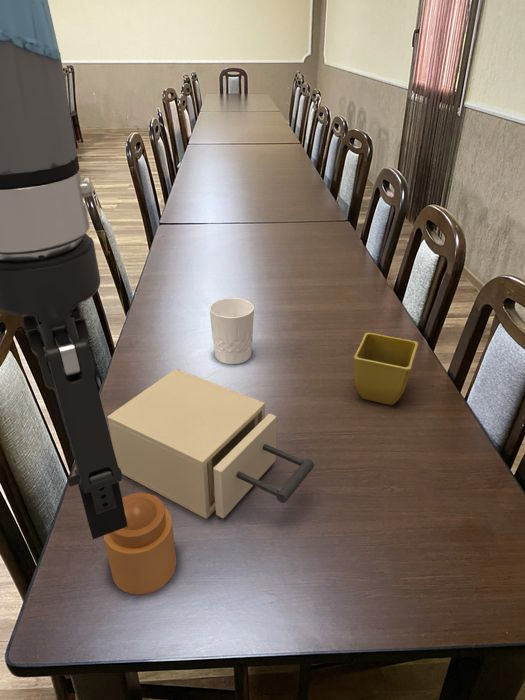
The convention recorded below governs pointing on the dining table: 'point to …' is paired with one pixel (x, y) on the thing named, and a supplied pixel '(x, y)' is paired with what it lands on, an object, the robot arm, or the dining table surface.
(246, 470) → the drawer
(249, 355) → the white cup
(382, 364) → the flower pot
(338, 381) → the dining table surface
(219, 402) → the cabinet
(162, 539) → the orange dome-capped jar
